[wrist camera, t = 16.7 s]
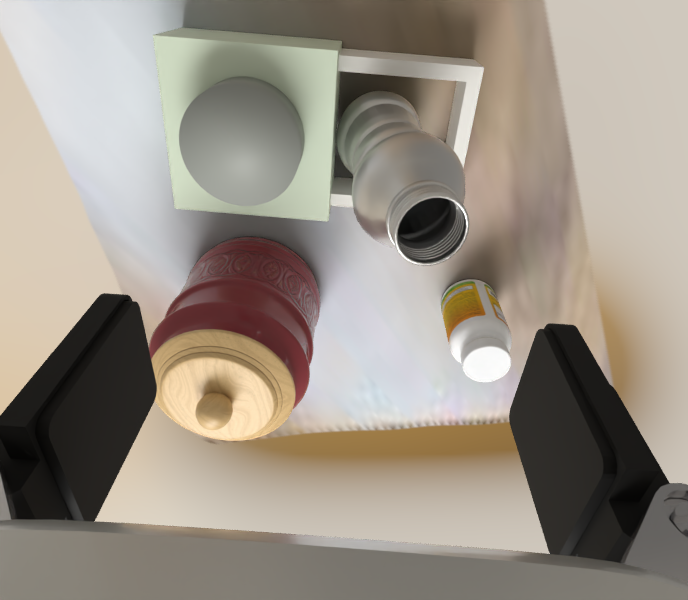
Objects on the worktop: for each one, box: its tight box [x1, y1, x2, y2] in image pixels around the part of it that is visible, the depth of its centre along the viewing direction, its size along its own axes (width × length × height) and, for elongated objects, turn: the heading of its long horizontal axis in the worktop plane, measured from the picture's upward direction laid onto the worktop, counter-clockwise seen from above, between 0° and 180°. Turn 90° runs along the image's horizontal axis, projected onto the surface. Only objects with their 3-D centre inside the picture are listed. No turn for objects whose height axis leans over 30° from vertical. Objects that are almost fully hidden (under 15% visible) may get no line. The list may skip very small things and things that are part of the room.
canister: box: [149, 237, 320, 441], centre depth 42 cm, size 13×13×18 cm
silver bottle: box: [336, 91, 469, 266], centre depth 32 cm, size 6×7×20 cm
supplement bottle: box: [441, 279, 512, 382], centre depth 45 cm, size 5×5×10 cm
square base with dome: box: [153, 27, 484, 221], centre depth 36 cm, size 12×22×9 cm, turn 86°
